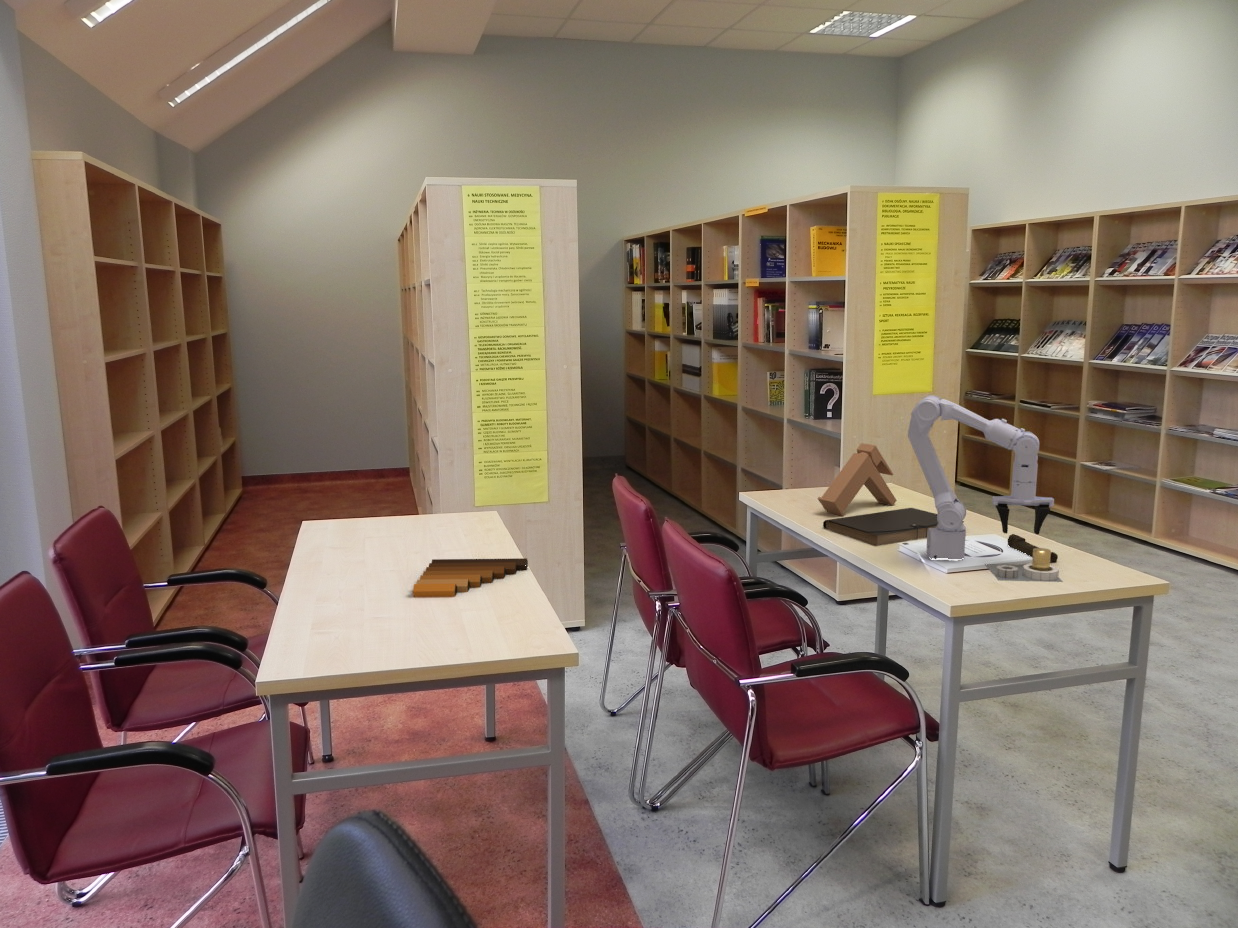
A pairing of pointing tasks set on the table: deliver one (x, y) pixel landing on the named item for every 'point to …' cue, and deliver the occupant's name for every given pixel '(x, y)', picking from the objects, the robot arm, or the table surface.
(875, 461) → the wooden a-frame
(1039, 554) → the round peg
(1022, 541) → the brown wooden stick
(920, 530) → the dark brown book
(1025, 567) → the fitting board
